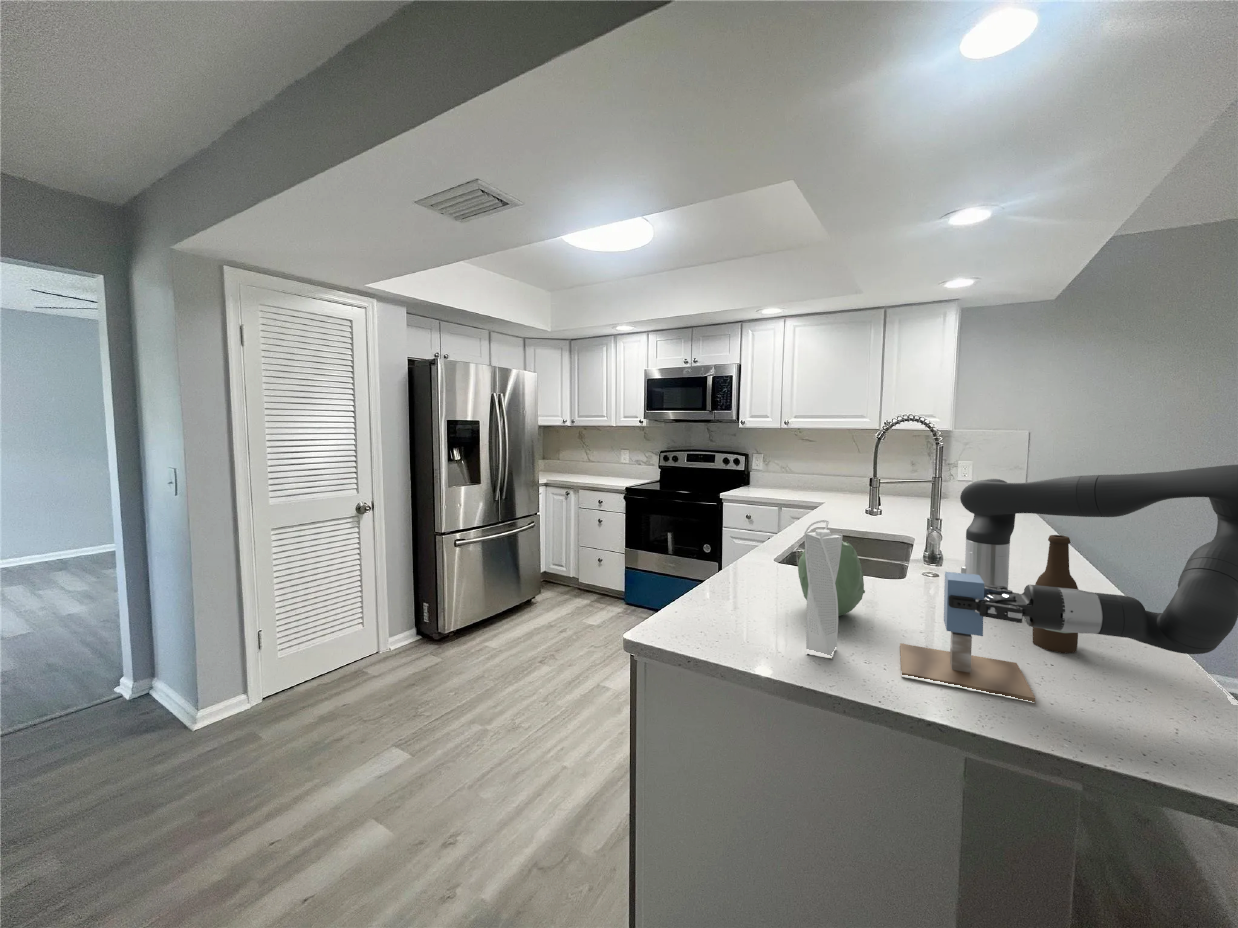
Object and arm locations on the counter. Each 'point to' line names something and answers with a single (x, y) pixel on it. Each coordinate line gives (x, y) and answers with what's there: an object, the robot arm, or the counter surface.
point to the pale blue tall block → (963, 618)
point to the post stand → (965, 668)
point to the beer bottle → (1059, 577)
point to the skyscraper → (822, 588)
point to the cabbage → (841, 579)
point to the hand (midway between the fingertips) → (947, 595)
